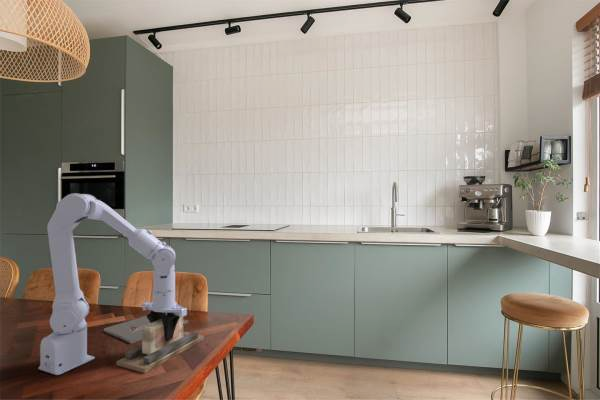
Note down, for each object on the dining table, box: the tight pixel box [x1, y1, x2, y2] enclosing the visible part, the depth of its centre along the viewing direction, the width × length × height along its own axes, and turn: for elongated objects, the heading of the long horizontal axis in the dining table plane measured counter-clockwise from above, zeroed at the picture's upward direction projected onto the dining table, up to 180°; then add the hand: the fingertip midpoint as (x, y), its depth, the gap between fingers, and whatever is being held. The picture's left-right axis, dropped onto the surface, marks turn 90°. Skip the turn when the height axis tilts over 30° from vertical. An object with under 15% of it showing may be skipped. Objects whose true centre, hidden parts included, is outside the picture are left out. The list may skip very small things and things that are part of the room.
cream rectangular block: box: [141, 316, 184, 355], centre depth 94 cm, size 12×3×7 cm, turn 156°
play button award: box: [103, 313, 189, 344], centre depth 112 cm, size 16×2×20 cm
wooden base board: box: [116, 331, 206, 374], centre depth 94 cm, size 22×10×2 cm, turn 156°
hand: (164, 338), depth 94 cm, fingers closed on cream rectangular block, 3 cm apart
